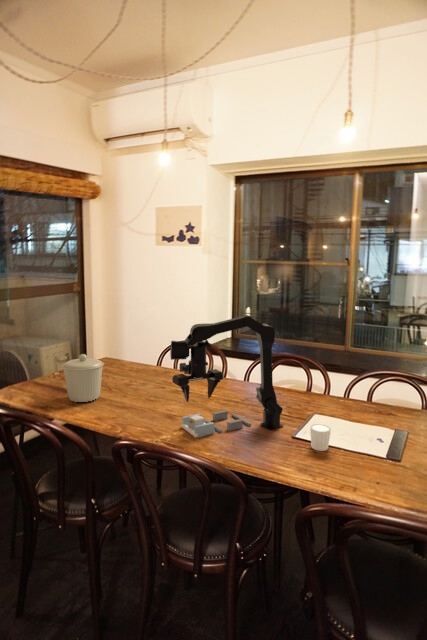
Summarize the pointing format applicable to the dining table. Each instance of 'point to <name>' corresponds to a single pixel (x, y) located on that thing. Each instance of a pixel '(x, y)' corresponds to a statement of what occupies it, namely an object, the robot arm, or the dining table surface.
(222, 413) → the blocks
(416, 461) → the dining table surface
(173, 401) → the dining table surface
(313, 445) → the shot glass
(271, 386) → the robot arm
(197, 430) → the drawer
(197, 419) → the usb wall charger
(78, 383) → the canister
